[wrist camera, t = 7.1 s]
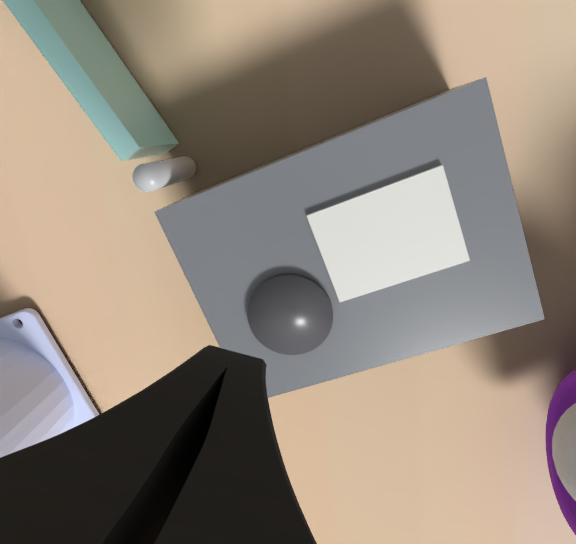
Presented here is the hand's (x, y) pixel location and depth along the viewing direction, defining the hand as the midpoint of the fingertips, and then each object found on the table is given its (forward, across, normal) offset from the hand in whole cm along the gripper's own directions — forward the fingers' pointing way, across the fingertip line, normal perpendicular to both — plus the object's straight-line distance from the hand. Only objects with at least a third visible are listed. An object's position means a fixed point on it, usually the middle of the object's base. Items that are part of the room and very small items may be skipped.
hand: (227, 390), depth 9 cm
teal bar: (+10, +8, -6) cm, 14 cm away
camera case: (+10, -2, -2) cm, 10 cm away
